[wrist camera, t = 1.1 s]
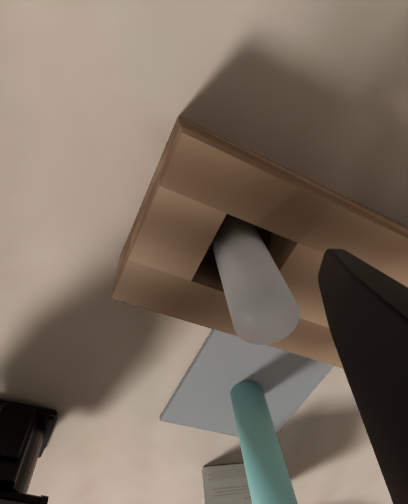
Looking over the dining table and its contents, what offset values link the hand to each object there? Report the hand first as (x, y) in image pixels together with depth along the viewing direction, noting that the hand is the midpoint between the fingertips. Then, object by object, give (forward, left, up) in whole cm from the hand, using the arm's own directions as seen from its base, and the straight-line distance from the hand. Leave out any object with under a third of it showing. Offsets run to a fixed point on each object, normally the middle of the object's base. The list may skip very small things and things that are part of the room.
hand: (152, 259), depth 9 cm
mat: (-17, -15, -14) cm, 27 cm away
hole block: (-3, -12, -14) cm, 19 cm away
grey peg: (-3, -6, -14) cm, 16 cm away
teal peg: (-17, -15, -14) cm, 27 cm away
